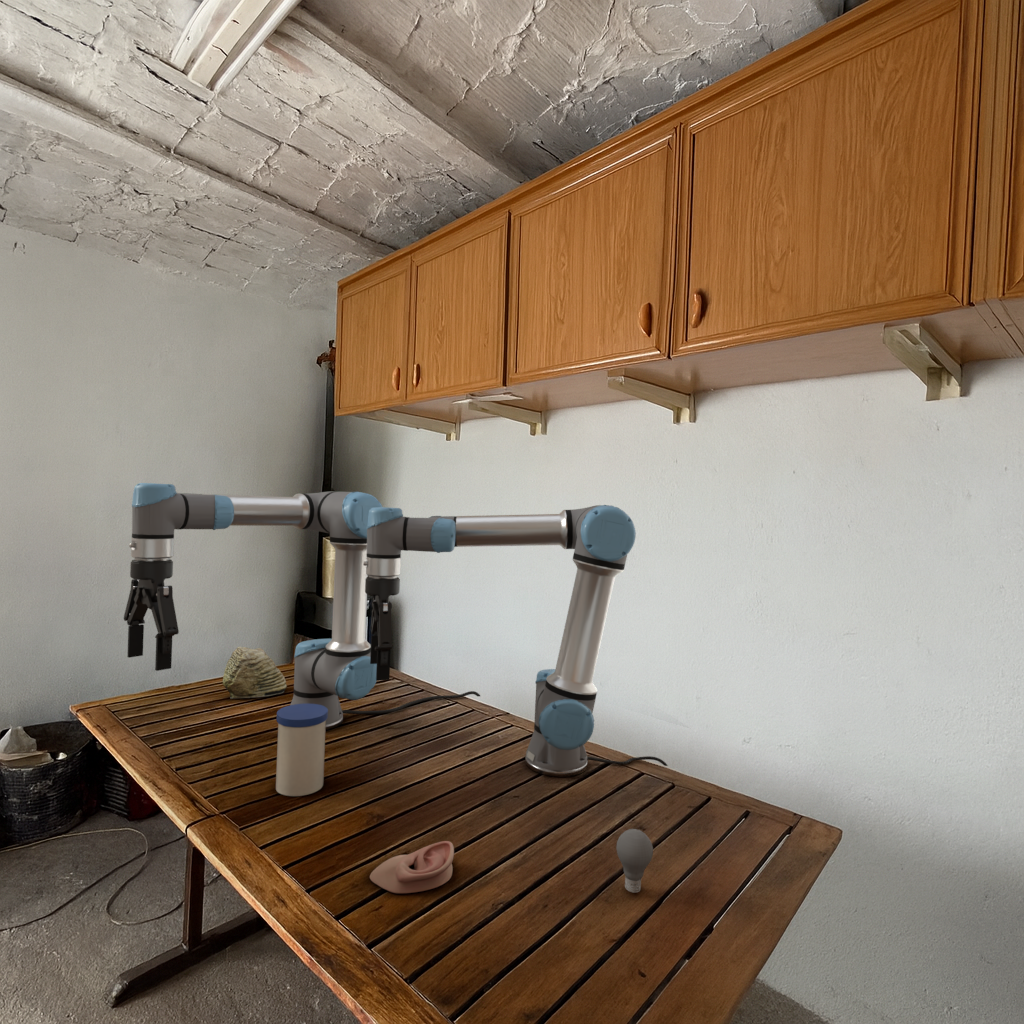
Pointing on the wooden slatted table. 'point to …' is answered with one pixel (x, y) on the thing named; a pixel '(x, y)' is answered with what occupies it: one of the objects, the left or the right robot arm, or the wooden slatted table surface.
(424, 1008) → the wooden slatted table surface
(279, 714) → the lid
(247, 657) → the fossil
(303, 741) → the jar
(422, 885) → the anatomical model
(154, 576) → the left robot arm
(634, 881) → the light bulb
